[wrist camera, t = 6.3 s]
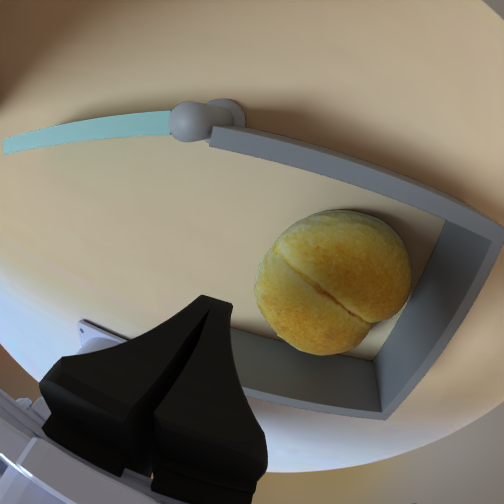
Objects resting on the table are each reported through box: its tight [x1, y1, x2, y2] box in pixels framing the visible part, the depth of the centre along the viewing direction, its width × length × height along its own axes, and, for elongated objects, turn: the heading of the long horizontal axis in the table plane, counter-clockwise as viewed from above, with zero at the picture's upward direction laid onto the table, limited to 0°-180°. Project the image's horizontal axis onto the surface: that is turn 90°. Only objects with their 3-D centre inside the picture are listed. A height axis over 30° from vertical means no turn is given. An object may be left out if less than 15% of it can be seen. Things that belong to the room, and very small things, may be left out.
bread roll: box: [254, 210, 412, 356], centre depth 15 cm, size 8×9×4 cm
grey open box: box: [205, 99, 504, 420], centre depth 15 cm, size 15×16×5 cm
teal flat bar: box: [3, 101, 234, 155], centre depth 13 cm, size 14×2×4 cm, turn 87°
